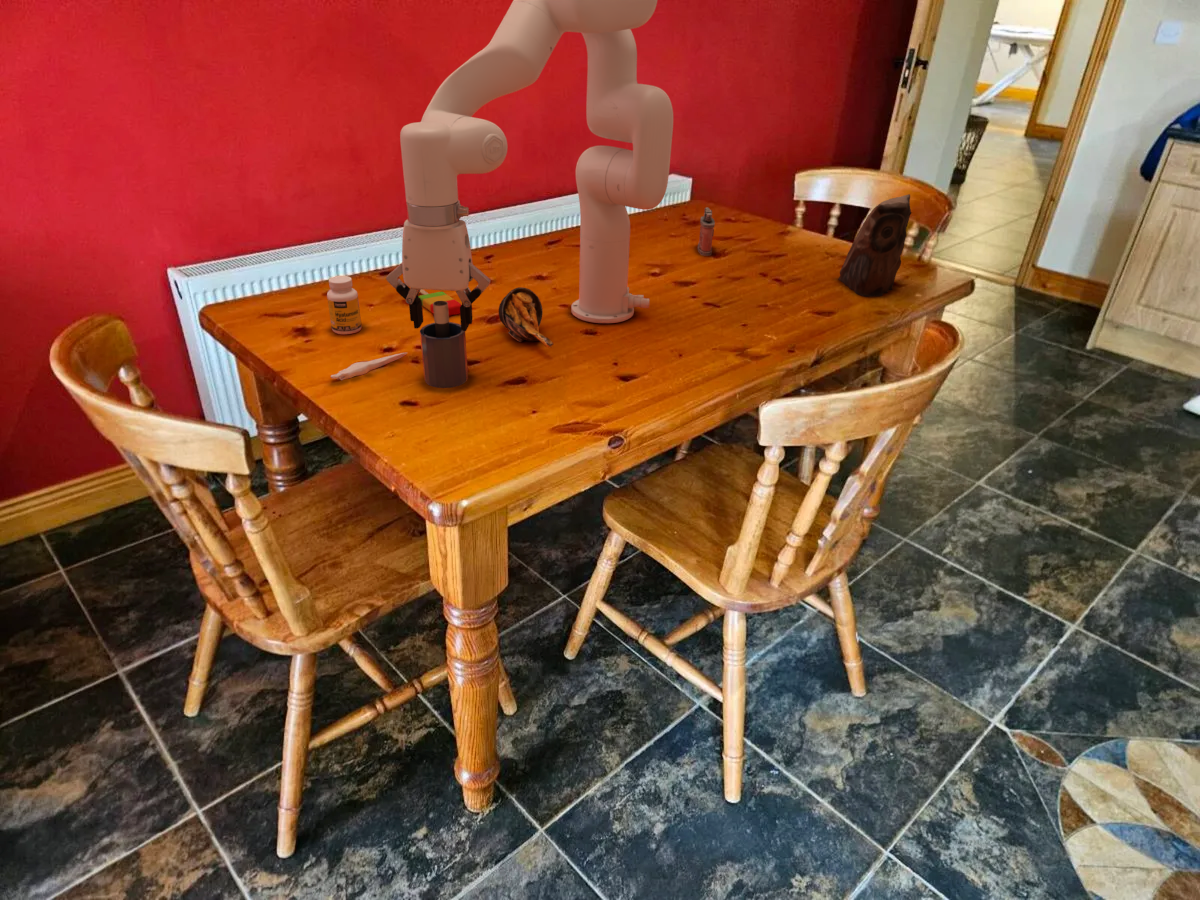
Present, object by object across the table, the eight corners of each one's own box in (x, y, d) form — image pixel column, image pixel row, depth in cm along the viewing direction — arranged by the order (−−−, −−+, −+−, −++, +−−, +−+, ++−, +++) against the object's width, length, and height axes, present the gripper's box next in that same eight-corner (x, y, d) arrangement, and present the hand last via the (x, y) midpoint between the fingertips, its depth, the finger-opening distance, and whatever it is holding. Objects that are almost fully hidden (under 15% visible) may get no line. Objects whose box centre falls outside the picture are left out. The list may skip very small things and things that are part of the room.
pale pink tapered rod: (336, 387, 128) (335, 376, 127) (327, 382, 129) (325, 371, 128) (412, 359, 137) (411, 349, 136) (403, 355, 139) (402, 345, 138)
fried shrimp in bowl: (529, 294, 153) (585, 290, 139) (521, 350, 154) (576, 352, 140) (488, 283, 148) (542, 279, 134) (480, 342, 148) (533, 344, 134)
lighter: (713, 255, 193) (717, 214, 188) (699, 255, 193) (703, 214, 188) (709, 246, 200) (713, 206, 195) (696, 245, 200) (700, 205, 195)
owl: (892, 280, 181) (913, 191, 171) (907, 300, 170) (930, 206, 160) (837, 278, 182) (854, 188, 171) (848, 297, 171) (867, 203, 160)
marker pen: (454, 375, 131) (449, 301, 125) (451, 381, 129) (446, 306, 123) (441, 374, 131) (434, 300, 125) (437, 380, 129) (431, 305, 123)
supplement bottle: (335, 337, 145) (327, 285, 139) (329, 326, 149) (321, 276, 144) (365, 332, 147) (358, 281, 142) (358, 322, 151) (351, 272, 146)
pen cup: (471, 372, 134) (468, 322, 129) (463, 391, 128) (459, 339, 123) (430, 370, 134) (426, 320, 129) (420, 389, 128) (415, 337, 123)
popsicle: (438, 318, 153) (438, 309, 153) (407, 295, 164) (406, 287, 163) (464, 313, 156) (463, 304, 155) (431, 291, 167) (430, 282, 166)
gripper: (496, 209, 119) (500, 320, 129) (382, 204, 120) (394, 315, 129) (487, 223, 113) (492, 338, 122) (367, 217, 114) (381, 333, 123)
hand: (442, 325), depth 126 cm, fingers open, 6 cm apart
